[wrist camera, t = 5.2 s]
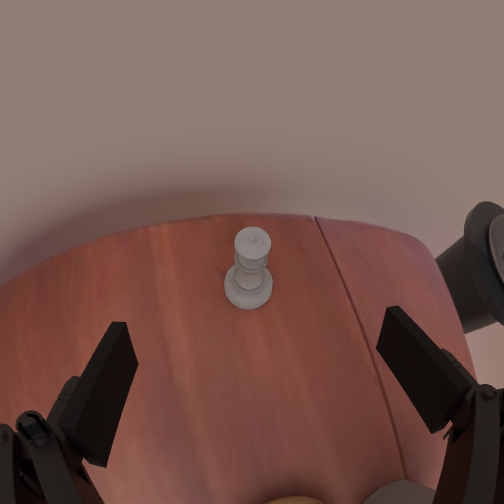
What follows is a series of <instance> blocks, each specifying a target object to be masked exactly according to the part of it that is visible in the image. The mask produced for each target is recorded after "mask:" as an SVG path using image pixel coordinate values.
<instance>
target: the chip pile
mask: <svg viewBox="0 0 504 504" xmlns="http://www.w3.org/2000/svg"><path fill="white" fill-rule="evenodd" d="M263 504H325V503H324V502H322V501H320V500H318V499H315V498H311V497H306V496H287V497H281V498H277V499H273V500H270V501H268V502H265V503H263Z"/></svg>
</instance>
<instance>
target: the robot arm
mask: <svg viewBox="0 0 504 504" xmlns="http://www.w3.org/2000/svg"><path fill="white" fill-rule="evenodd" d="M486 244H487V250H488V255H489V259H490V262H491V265H492V268H493V271H494V273H495V275H496V278H497V280H498V282H499V283H500V285H501V287H502V288H503V290H504V214H501V215H499V216H497V217H495V218H494V219H493V220H492V221H491V222H490V223H489V225H488V227H487V231H486ZM376 349H377V351H378V352H379V354H380V355H381V356H382V358H383V359H384V361H385V362H386V364H387V365H388V367H389V368H390V370H391V371H392V373H393V374H394V376H395V377H396V379H397V380H398V382H399V383H400V385H401V386H402V388H403V389H404V391H405V392H406V394H407V396H408V397H409V399H410V400H411V402H412V403H413V405H414V407H415V408H416V410H417V411H418V413H419V414H420V416H421V418H422V419H423V421H424V422H425V424H426V426H427V427H428V429H429V431H430V432H431V434H433V433H435V432H437V431H440V430H442V429H444V428H445V426H446V425H447V424H448V422H449V421H450V420H451V422H452V423H453V425H452V426H451V427H450V429H449V430H448V431H447V432H446V434H445V435H444V437H443V439H445V438H446V437H447V436H448V435H449V438H448V444H447V449H446V454H445V459H444V463H443V467H442V471H441V475H440V479H439V483H438V486H437V490H436V493H435V496H434V499H433V502H432V504H504V388H503V389H497V390H496V389H495V388H494V387H492V386H491V385H488V384H482V385H479V384H478V383H477V381H476V380H475V379H474V378H473V377H472V376H471V375H470V373H469V372H468V371H467V370H466V369H465V368H464V367H462V364H461V363H460V362H459V361H457V359H456V358H455V357H454V356H453V355H452V354H451V353H450V352H448V351H447V350H445V349H443V348H442V349H439V348H438V346H437V345H436V344H435V343H434V342H433V341H432V340H431V339H430V338H429V337H428V336H427V335H426V334H425V333H424V331H423V330H422V329H421V328H420V327H419V326H418V325H417V324H416V323H415V322H414V321H413V320H412V319H411V318H410V317H409V316H408V315H407V314H406V313H405V312H404V311H403V310H402V309H401V308H400V307H399V306H391V307H387V308H386V312H385V316H384V320H383V324H382V328H381V332H380V336H379V339H378V343H377V346H376ZM137 367H138V361H137V358H136V355H135V352H134V349H133V345H132V342H131V339H130V335H129V332H128V328H127V325H126V322H112V323H111V324H110V326H109V328H108V329H107V331H106V333H105V334H104V336H103V338H102V339H101V341H100V343H99V345H98V346H97V348H96V350H95V352H94V353H93V355H92V357H91V359H90V361H89V362H88V364H87V366H86V368H85V370H84V371H83V373H82V375H81V377H78V376H73V377H72V378H70V379H69V380H68V381H67V382H66V383H65V385H64V387H63V388H62V390H61V393H60V394H59V396H58V399H57V400H56V401H55V403H54V405H53V407H52V409H51V411H50V413H49V415H48V417H47V419H46V421H45V419H44V418H43V417H42V415H41V414H39V413H38V412H37V411H32V410H31V411H26V412H24V413H22V414H21V415H20V416H19V417H18V419H17V421H16V429H17V430H18V432H19V433H18V432H14V431H13V430H12V428H11V427H10V426H8V425H7V424H0V504H105V503H104V502H103V500H102V498H101V497H100V495H99V493H98V492H97V490H96V488H95V486H94V484H93V483H92V481H91V479H90V477H89V475H88V473H87V471H86V469H85V467H84V466H83V464H82V460H83V457H84V458H85V459H86V460H87V461H88V462H89V464H93V465H96V466H100V467H104V468H106V466H107V462H108V459H109V455H110V451H111V448H112V444H113V441H114V437H115V434H116V431H117V427H118V424H119V421H120V418H121V414H122V411H123V408H124V405H125V402H126V399H127V396H128V393H129V390H130V387H131V384H132V381H133V378H134V375H135V373H136V370H137Z"/></svg>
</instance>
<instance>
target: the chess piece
mask: <svg viewBox="0 0 504 504" xmlns="http://www.w3.org/2000/svg"><path fill="white" fill-rule="evenodd" d="M234 245H235V249H236V253H235V265H233V266H232V267H231V268H230V269H229V270H228V272H227V274H226V276H225V281H224V282H225V283H224V287H225V293H226V296H227V298H228V299H229V301H230V302H231V303H232V304H233V305H234V306H236V307H238V308H240V309H245V310H253V309H256V308H259V307H261V306H262V305H264V304H265V303H266V302H267V301H268V299H269V297H270V295H271V293H272V287H273V280H272V276H271V274H270V272H269V270H268V269H267V268H266V265H267V262H268V253H269V251H270V249H271V239H270V237H269V235H268V234H267V233H266V232H265V231H264V230H263V229H261V228H258V227H247V228H244V229H242V230H241V231H240V232H239V233H238V234H237V236H236V237H235V242H234Z"/></svg>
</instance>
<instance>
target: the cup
mask: <svg viewBox="0 0 504 504" xmlns="http://www.w3.org/2000/svg"><path fill="white" fill-rule="evenodd" d="M435 493H436V490H433V489H430V488H428V487H425V486H423V485H420V484H418V483H416V482H413V481H411V480H409V479H405V480H398V481H393V482H391V483H389V484H387V485H385V486H383V487H381V488H379V489H377V490H376V491H375V492H374V493H373V494H372V495H370V496H369V497H368V498H367V499H366V500H365V501H364V502H363V503H362V504H432V502H433V499H434V496H435Z"/></svg>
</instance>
